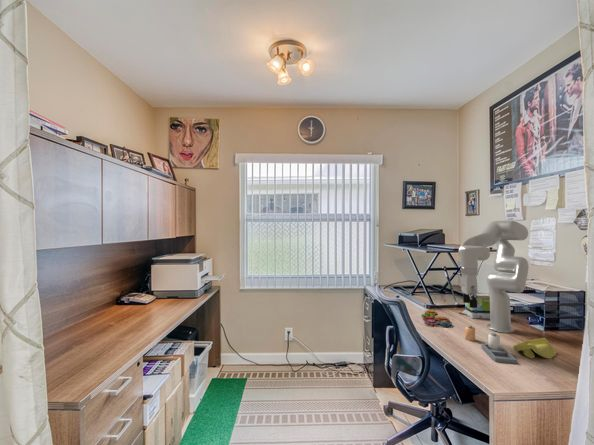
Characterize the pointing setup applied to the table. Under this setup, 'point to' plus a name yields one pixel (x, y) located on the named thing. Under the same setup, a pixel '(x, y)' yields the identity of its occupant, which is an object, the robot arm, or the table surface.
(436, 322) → the gear puzzle
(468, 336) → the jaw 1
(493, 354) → the housing
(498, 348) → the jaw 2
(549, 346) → the plastic component
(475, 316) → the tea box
